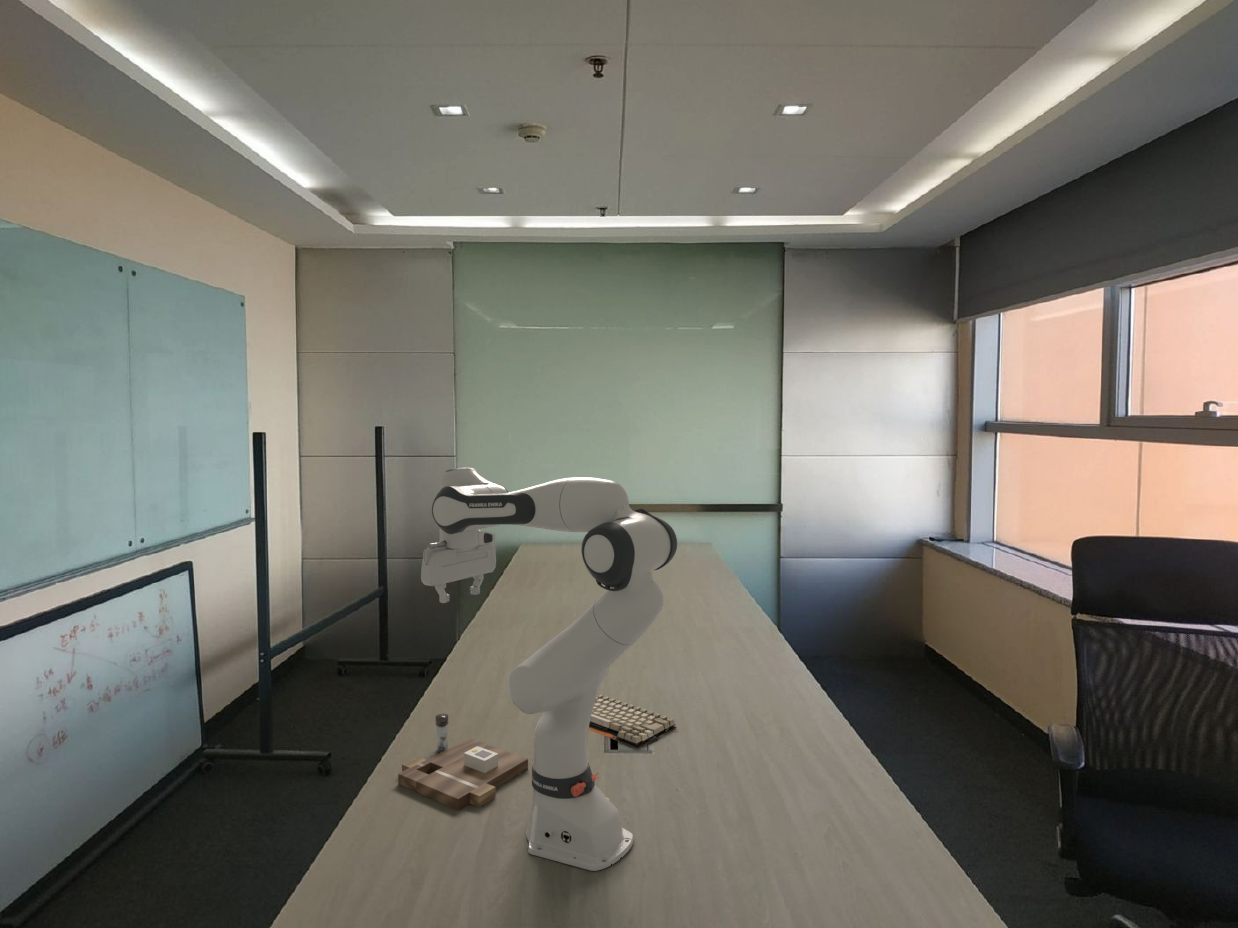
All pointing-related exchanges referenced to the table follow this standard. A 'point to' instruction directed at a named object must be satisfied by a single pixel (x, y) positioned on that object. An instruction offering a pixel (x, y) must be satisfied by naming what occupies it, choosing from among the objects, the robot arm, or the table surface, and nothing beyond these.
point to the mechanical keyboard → (628, 722)
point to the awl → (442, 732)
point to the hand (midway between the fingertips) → (460, 598)
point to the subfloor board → (459, 775)
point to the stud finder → (481, 759)
